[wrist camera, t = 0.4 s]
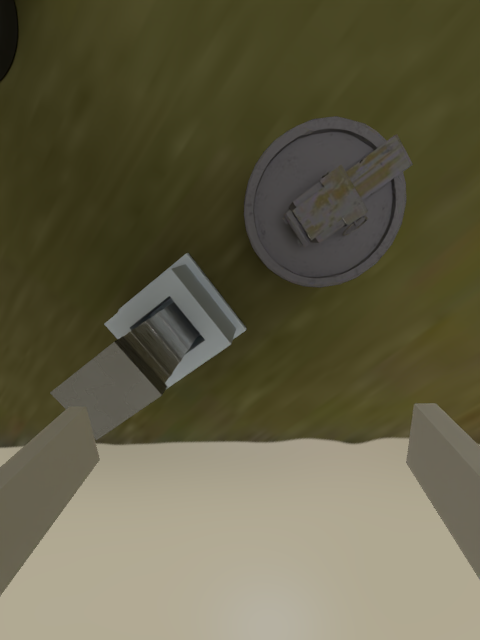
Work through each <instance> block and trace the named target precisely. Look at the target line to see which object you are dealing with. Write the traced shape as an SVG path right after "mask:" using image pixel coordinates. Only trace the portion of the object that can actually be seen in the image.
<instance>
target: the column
mask: <svg viewBox="0 0 480 640" xmlns="http://www.w3.org/2000/svg"><path fill="white" fill-rule="evenodd" d="M199 334H200V333H199V332H198V330H197V329H196V328H195V327H194V326H193V324H192V323H191V322H190V321H189V319H188V318H187V317H186V316H185V315H184V313H183V312H182V311H181V310H180V308H179V307H178V306H177V305H176V303H175V302H173V303H172V304H170V305H169V306H167V307H166V308H164V309H163V310H161V311H159V312H158V313H156V314H155V315H154V316H152V317H151V318H150V319H147V320H146V321H145V322H143V323H142V324H141V325H139V326H138V327H137V328H135V329H133V330H131V331H130V332H129V333H127V334H126V335H125V336H124V337H123V336H122V337H121V338H119V339H118V340H116V341H115V342H114V343H112V344H111V345H110V346H108V347H107V348H106V349H105V350H103V351H102V352H101V353H100V354H98V355H97V356H96V357H95V358H93V359H92V360H91V361H90V362H88V363H87V364H86V365H85V366H83V367H82V368H81V369H79V370H78V371H77V372H76V373H74V374H73V375H72V376H71V377H69V378H68V379H67V380H66V381H64V382H63V383H62V384H61V385H59V386H58V387H57V388H56V389H54V390H53V391H52V392H50V393H51V394H52V395H53V396H54V397H55V398H56V399H57V400H58V402H59V403H60V404H61V405H62V406H63V407H64V408H65V409H67V408H68V407H86V408H87V412H88V416H89V420H90V423H91V427H92V431H93V435H94V438H95V439H96V440H97V439H99V438H100V437H102V436H103V435H105V434H106V433H108V432H109V431H110V430H112V429H113V428H115V427H116V426H118V425H119V424H121V423H122V422H124V421H125V420H126V419H128V418H129V417H131V416H132V415H134V414H135V413H137V412H138V411H140V410H141V409H143V408H144V407H145V406H147V405H148V404H150V403H151V402H153V401H154V400H156V399H157V398H159V397H160V396H161V395H162V394H163V393H164V391H165V390H166V388H167V385H166V384H165V383H166V381H167V380H168V378H169V377H171V375H172V374H173V373H172V372H173V371H174V370H175V368H176V367H177V365H178V364H179V363H180V362H181V361H182V358H183V357H184V355H185V354H186V352H187V351H188V350H189V349H190V347H191V345H192V344H193V342H194V341H195V339H196V338H197V336H198V335H199Z"/></svg>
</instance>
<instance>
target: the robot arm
mask: <svg viewBox="0 0 480 640" xmlns="http://www.w3.org/2000/svg"><path fill="white" fill-rule="evenodd" d="M16 43H17V16H16V9H15V4H14V0H0V80H1V79H2V77H3V76H4V75H5V73H6V72H7V70H8V68H9V67H10V64H11V62H12V59H13V56H14V53H15V49H16ZM98 461H99V455H98V451H97V447H96V443H95V439H94V435H93V431H92V427H91V423H90V420H89V416H88V412H87V408H86V407H68V408H67V409H66V410H65V411H64V412H63V413H61V414H60V415H59V416H58V417H57V418H56V419H55V420H54V421H52V422H51V423H50V424H49V425H48V426H47V427H46V428H44V429H43V430H42V431H41V432H40V433H39V434H38V435H37V436H35V437H34V438H33V439H32V440H31V441H30V442H29V443H27V444H26V445H25V446H24V447H23V448H22V449H21V450H20V451H18V452H17V453H16V454H15V455H14V456H13V457H12V458H11V459H9V460H8V461H7V462H6V463H5V464H4V465H2V466H1V467H0V595H1V594H2V593H3V592H4V590H5V589H6V587H7V586H8V585H9V583H10V582H11V580H12V579H13V578H14V576H15V575H16V574H17V572H18V571H19V570H20V568H21V567H22V566H23V564H24V563H25V561H26V560H27V559H28V557H29V556H30V555H31V553H32V552H33V550H34V549H35V548H36V546H37V545H38V544H39V542H40V540H41V539H42V538H43V537H44V535H45V534H46V532H47V531H48V530H49V528H50V527H51V526H52V524H53V523H54V522H55V520H56V519H57V518H58V516H59V515H60V513H61V512H62V511H63V509H64V508H65V507H66V505H67V504H68V502H69V501H70V500H71V498H72V497H73V496H74V494H75V493H76V491H77V490H78V489H79V487H80V486H81V485H82V483H83V482H84V481H85V479H86V478H87V476H88V475H89V474H90V472H91V471H92V470H93V468H94V467H95V465H96V464H97V463H98ZM406 463H407V465H408V466H409V468H410V469H411V471H412V473H413V474H414V476H415V477H416V479H417V480H418V482H419V484H420V485H421V487H422V489H423V490H424V492H425V493H426V495H427V497H428V498H429V500H430V501H431V503H432V504H433V506H434V508H435V509H436V511H437V512H438V514H439V516H440V517H441V519H442V520H443V522H444V524H445V525H446V527H447V528H448V530H449V531H450V533H451V535H452V536H453V538H454V539H455V541H456V543H457V544H458V546H459V547H460V549H461V551H462V552H463V554H464V555H465V557H466V558H467V560H468V562H469V563H470V565H471V566H472V568H473V570H474V571H475V573H476V574H477V576H478V577H479V579H480V446H479V445H478V444H477V443H476V442H475V441H474V440H473V439H472V438H471V437H470V436H469V435H468V434H467V433H466V432H465V431H463V430H462V429H461V428H460V427H459V426H458V425H457V424H456V423H455V422H454V421H453V420H452V419H451V418H450V417H449V416H448V415H447V414H446V413H445V412H444V411H443V410H442V409H441V408H440V407H439V406H438V405H437V404H414V409H413V416H412V424H411V431H410V439H409V446H408V455H407V461H406Z"/></svg>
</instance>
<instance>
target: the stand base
mask: <svg viewBox="0 0 480 640" xmlns="http://www.w3.org/2000/svg"><path fill="white" fill-rule="evenodd" d="M173 302H175V303H176V305H177V306H178V307H179V308H180V310H181V311H182V312H183V313H184V315H185V316H186V317H187V318H188V319H189V321H190V322H191V323H192V324H193V326H194V327H195V328H196V329H197V330H198V332H199V333H200V334H199V335H198V336H197V338H196V339H195V341H194V342H193V344H192V345H191V347H190V349H189V350H188V351H187V352H186V354H185V355H184V357H183V358H182V361H181V362H180V363H179V364H178V365H177V367H176V368H175V370H174V371H173V372H172V373H173V374H172V375H171V377H169V378H168V380H167V381H166V383H165V384H166V385H167V388H168V387H170V386H171V385H173V384H174V383H176V382H177V381H179V380H180V379H182V378H183V377H184V376H186V375H187V374H189V373H190V372H192V371H193V370H195V369H196V368H197V367H199V366H200V365H202V364H203V363H205V362H206V361H208V360H209V359H211V358H212V357H213V356H215V355H216V354H218V353H219V352H221V351H222V350H224V349H225V348H226V347H228V346H229V345H231V343H232V340H233V339H234V338H236V337H237V336H239V335H240V334H241V333H243V332H244V331H246V329H247V328H246V327H245V325H244V324H243V323H242V322H241V320H240V319H239V318H238V316H237V315H236V314H235V313H234V311H233V310H232V309H231V307H230V306H229V305H228V303H227V302H226V301H225V300H224V298H223V297H222V296H221V294H220V293H219V292H218V291H217V289H216V288H215V287H214V285H213V284H212V283H211V282H210V280H209V279H208V278H207V276H206V275H205V274H204V273H203V271H202V270H201V269H200V267H199V266H198V265H197V263H196V262H195V261H194V260H193V258H192V257H191V256H190V254H189V253H186V254H185V255H184V256H183V257H181V258H180V259H179V260H178V261H177V262H175V263H174V264H173V265H172V266H170V267H169V268H168V269H167V270H166V271H164V272H163V273H162V274H161V275H160V276H158V277H157V278H156V279H155V280H154V281H152V282H151V283H150V284H149V285H148V286H146V287H145V288H144V289H143V290H142V291H140V292H139V293H138V294H137V295H135V296H134V297H133V298H132V299H131V300H129V301H128V302H127V303H126V304H125V305H123V306H122V307H121V308H120V309H119V310H118V311H119V312H118V313H117V314H116V315H114V316H113V317H112V318H111V319H109V320H108V321H107V322H106V323H105V326H106V327H107V328H108V329H109V330H110V331H111V332H112V333H113V335H114V336H115V337H116V338H117V339H119V338H121V337H122V336H123V337H124V336H125V335H126V334H127V333H129V332H130V331H131V330H133V329H135V328H137V327H138V326H139V325H141V324H142V323H143V322H145V321H146V320H147V319H150V318H151V317H152V316H154V315H155V314H156V313H158V312H159V311H161V310H163V309H164V308H166V307H167V306H169V305H170V304H172V303H173ZM167 388H166V389H167Z"/></svg>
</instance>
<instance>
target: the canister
mask: <svg viewBox="0 0 480 640" xmlns="http://www.w3.org/2000/svg"><path fill="white" fill-rule="evenodd" d="M412 165H413V164H412V162H411V160H410V158H409V156H408V154H407V152H406V151H405V149H404V147H403V145H402V143H401V141H400V139H399V137H398V135H397V134H396V135H394V136H393V137H392V138H390V139H389V140H388V141H386V140H385V139H384V138H383V137H382V136H381V135H380V134H379V133H378V132H377V131H376V130H374V129H372V128H371V127H369V126H367V125H366V124H364V123H360V122H357V121H353V120H350V119H345V118H341V117H337V116H336V117H327V118H319V119H313V120H310V121H308V122H305V123H303V124H300V125H298V126H296V127H294V128H293V129H291V130H289V131H287V132H286V133H284V134H283V135H281V136H280V137H278V138H277V139H276V140H274V141H273V143H272V144H271V145H270V146H269V147H268V148H267V149H266V150H265V151H264V153H263V154H262V156H261V157H260V159H259V160H258V162H257V163H256V165H255V167H254V170H253V172H252V174H251V176H250V179H249V181H248V185H247V189H246V194H245V201H244V219H245V226H246V231H247V234H248V237H249V240H250V242H251V245H252V247H253V249H254V251H255V252H256V254H257V255H258V257H259V258H260V259H261V261H262V262H263V263H264V264H265V265H266V266H267V267H268V268H269V269H270V270H271V271H272V272H274V273H275V274H276V275H278V276H280V277H281V278H283V279H285V280H287V281H289V282H291V283H294V284H298V285H302V286H308V287H326V286H332V285H339V284H341V283H344V282H347V281H349V280H352V279H354V278H356V277H358V276H359V275H361V274H362V273H363V272H365V271H366V270H368V269H369V268H371V267H372V266H373V265H375V264H376V263H377V261H378V260H379V259H380V258H381V257H382V256H383V255H384V253H385V252H386V251H387V250H388V248H389V247H390V246H391V245H392V243H393V241H394V239H395V237H396V234H397V232H398V230H399V228H400V226H401V224H402V219H403V214H404V209H405V205H406V183H405V179H404V175H403V171H405V170H406V169H407V168H409V167H410V166H412Z"/></svg>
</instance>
